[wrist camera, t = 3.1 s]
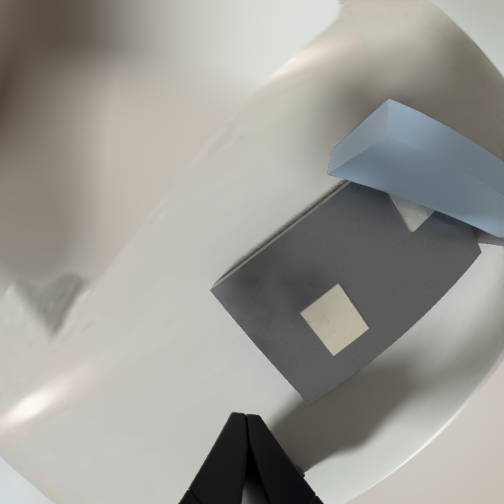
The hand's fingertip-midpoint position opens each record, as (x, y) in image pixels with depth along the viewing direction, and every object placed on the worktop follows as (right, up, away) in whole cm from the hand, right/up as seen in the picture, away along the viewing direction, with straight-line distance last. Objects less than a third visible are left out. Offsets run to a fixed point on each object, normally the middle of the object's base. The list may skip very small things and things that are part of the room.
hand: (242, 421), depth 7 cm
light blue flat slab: (+13, +9, +11) cm, 19 cm away
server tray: (+8, +4, +12) cm, 15 cm away
